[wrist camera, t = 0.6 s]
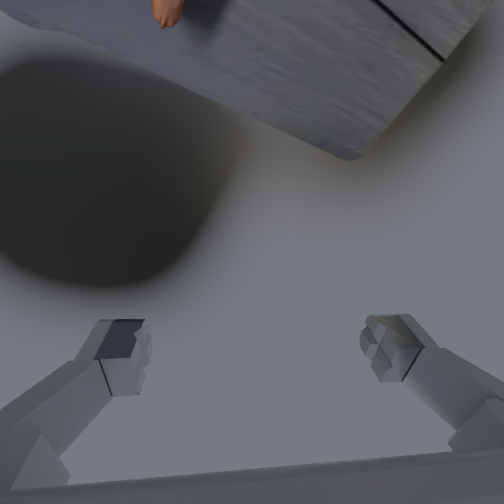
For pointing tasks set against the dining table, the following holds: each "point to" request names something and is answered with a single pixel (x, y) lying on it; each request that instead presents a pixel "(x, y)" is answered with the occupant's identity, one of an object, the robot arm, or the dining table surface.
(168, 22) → the bull figurine
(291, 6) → the dining table surface
